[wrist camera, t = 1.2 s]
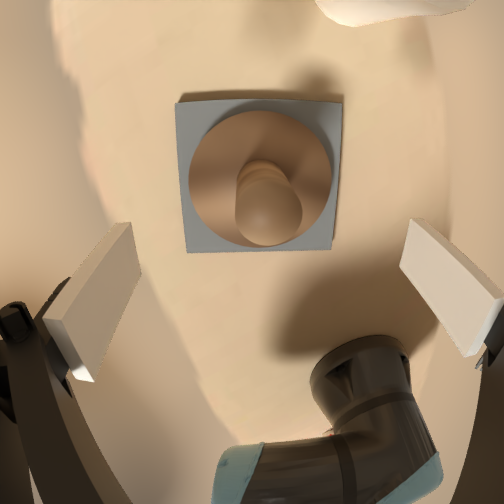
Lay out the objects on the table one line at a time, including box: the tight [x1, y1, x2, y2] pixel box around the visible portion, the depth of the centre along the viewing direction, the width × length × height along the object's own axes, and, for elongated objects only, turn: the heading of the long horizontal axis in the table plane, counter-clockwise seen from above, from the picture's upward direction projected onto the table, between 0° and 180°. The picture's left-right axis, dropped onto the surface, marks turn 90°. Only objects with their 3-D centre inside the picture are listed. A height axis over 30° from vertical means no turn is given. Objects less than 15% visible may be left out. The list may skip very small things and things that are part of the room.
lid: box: [188, 111, 331, 248], centre depth 21 cm, size 12×12×9 cm
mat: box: [175, 99, 342, 253], centre depth 25 cm, size 14×14×1 cm
